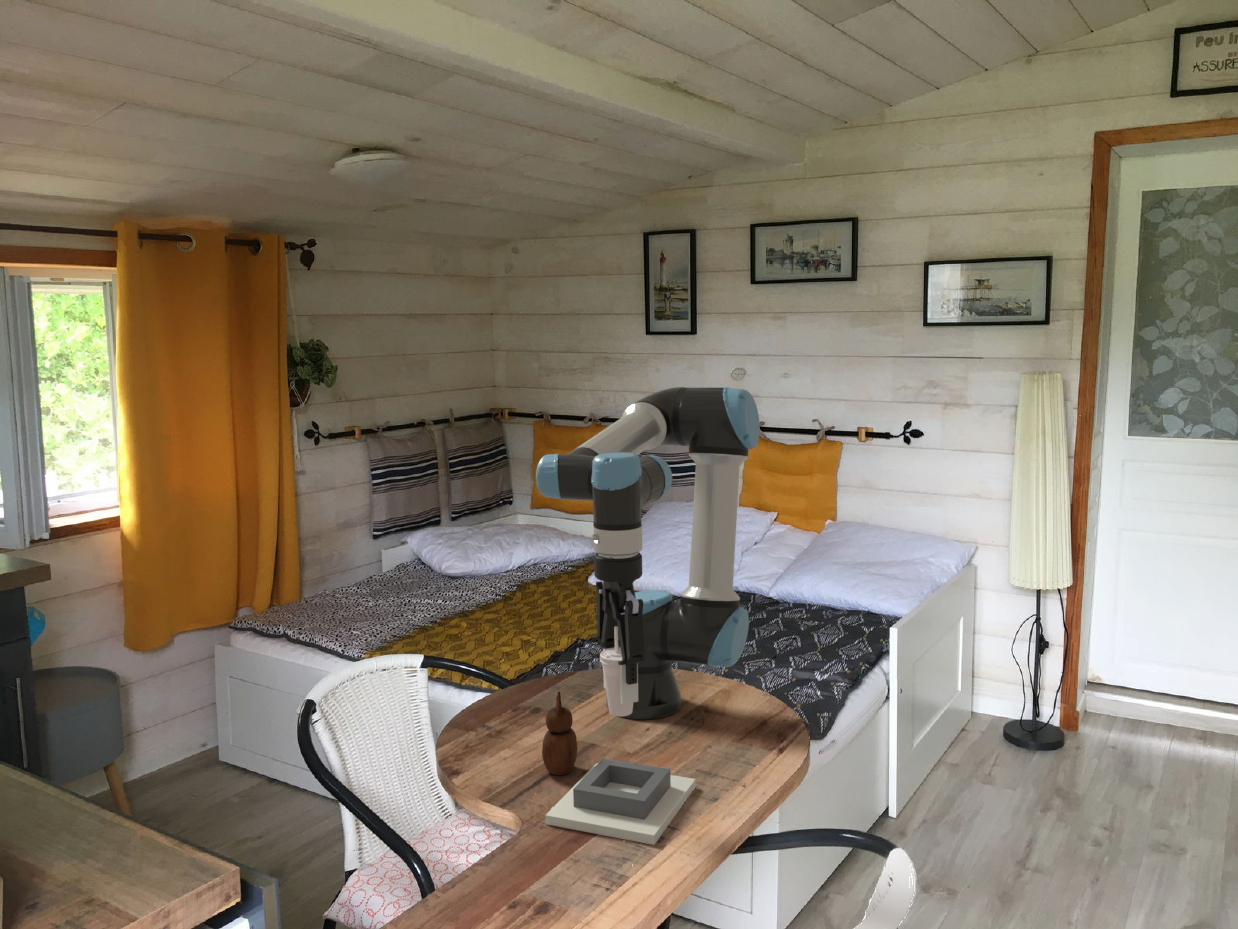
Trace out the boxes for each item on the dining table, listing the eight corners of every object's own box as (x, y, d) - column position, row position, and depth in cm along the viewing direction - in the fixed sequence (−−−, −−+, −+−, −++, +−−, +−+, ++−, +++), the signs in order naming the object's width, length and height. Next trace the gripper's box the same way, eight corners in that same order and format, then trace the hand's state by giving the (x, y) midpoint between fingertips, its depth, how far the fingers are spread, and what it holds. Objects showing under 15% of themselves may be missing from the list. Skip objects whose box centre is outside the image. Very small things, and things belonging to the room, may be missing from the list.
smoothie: (610, 702, 167) (608, 619, 165) (646, 707, 165) (645, 623, 162) (594, 716, 161) (592, 631, 159) (632, 722, 159) (630, 635, 157)
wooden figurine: (571, 780, 174) (569, 696, 172) (539, 778, 175) (536, 694, 173) (581, 763, 181) (579, 682, 179) (549, 761, 182) (547, 680, 180)
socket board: (596, 771, 178) (596, 746, 177) (695, 787, 171) (695, 762, 170) (545, 824, 159) (544, 797, 159) (654, 845, 153) (653, 816, 152)
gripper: (573, 542, 166) (577, 678, 170) (619, 569, 149) (622, 720, 152) (616, 538, 169) (619, 671, 173) (666, 563, 152) (668, 712, 155)
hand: (620, 694), depth 162 cm, fingers closed on smoothie, 6 cm apart
